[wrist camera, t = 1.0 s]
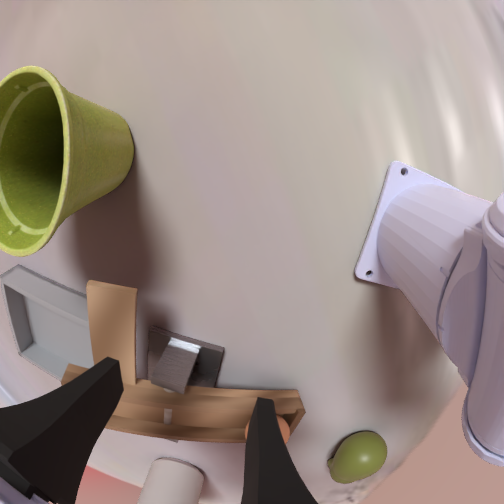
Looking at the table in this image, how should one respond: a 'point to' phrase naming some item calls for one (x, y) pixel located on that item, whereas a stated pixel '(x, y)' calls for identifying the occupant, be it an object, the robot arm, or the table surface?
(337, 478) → the pear
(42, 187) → the plant pot
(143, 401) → the plank
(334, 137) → the table surface
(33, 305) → the tray
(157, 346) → the fulcrum
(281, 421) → the ball
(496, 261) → the robot arm
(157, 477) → the can
